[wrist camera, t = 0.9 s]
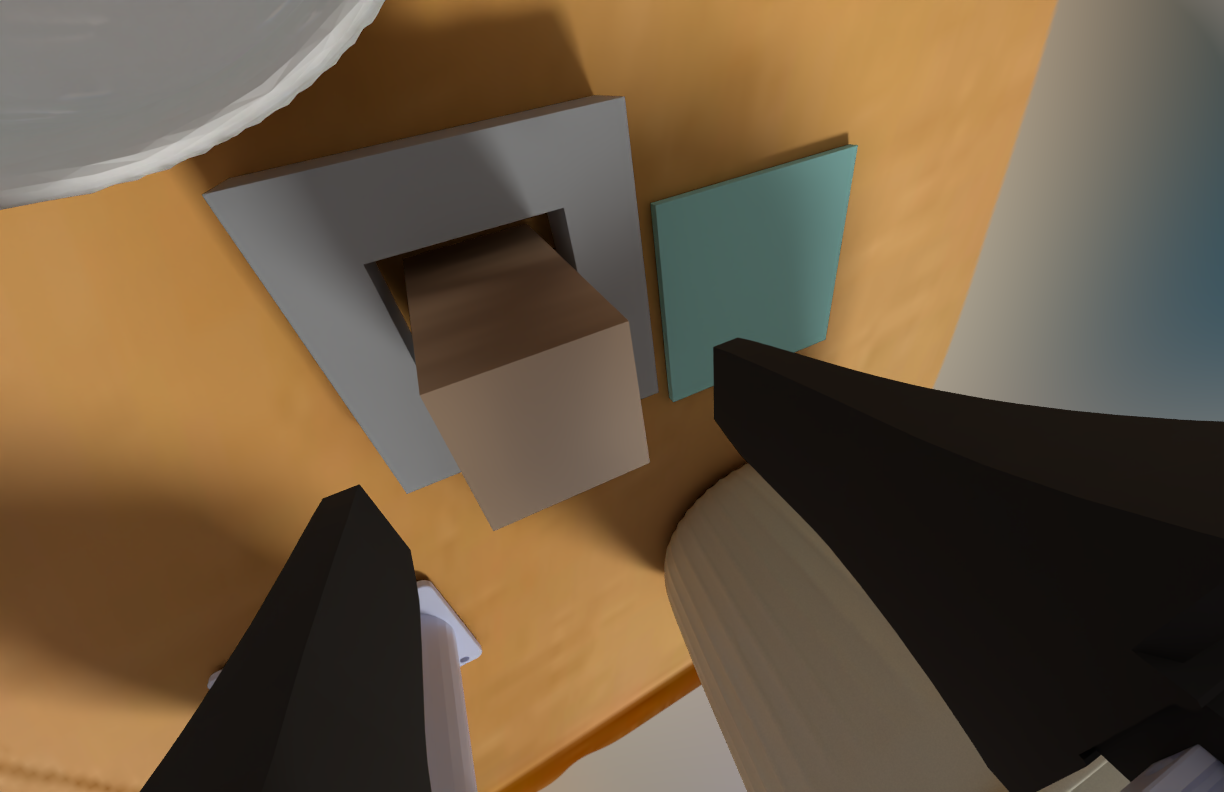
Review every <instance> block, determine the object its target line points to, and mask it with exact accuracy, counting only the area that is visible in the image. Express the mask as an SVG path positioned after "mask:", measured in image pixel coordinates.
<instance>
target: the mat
mask: <svg viewBox="0 0 1224 792" xmlns="http://www.w3.org/2000/svg"><path fill="white" fill-rule="evenodd" d="M857 147H858V145H851V144H849V145H846V146H842V147H839V148H836V149H832V150H829V151H825V152H822V153H819V154H815V155H812V156H809V157H805V158H802V159H798V160H795V161H792V162H788V163H785V164H781V165H778V166H775V167H771V168H768V169H765V170H761V171H758V172H754V173H751V174H748V175H744V176H741V177H737V178H734V179H731V180H727V181H724V182H721V183H717V184H714V185H710V186H707V187H704V188H700V189H697V190H694V191H690V192H687V193H683V194H680V195H677V196H673V197H670V198H666V199H663V200H660V201H656V202H653V203H650V204H651V215H652V225H653V235H654V246H655V256H656V266H657V277H658V287H659V297H660V308H661V318H662V328H663V339H664V349H665V359H666V369H667V380H668V390H669V398H670V399H671V400H672V401H673V402H675V401H678V400H680V399H683V398H685V397H687V396H690V395H692V394H695V393H697V392H699V391H702V390H704V389H707V388H709V387H712V386H714V373H713V347H714V346H717V345H719V344H722V343H725V342H727V341H730V340H732V339H735V338H737V337H738V338H743V339H747V340H751V341H755V342H759V343H763V344H766V345H770V346H773V347H777V348H780V349H783V350H787V351H790V352H793V353H794V352H796V351H799V350H801V349H804V348H806V347H808V346H811V345H813V344H816V343H818V342H821V341H823V340H825V339H826V333H827V327H828V321H829V315H830V309H831V303H832V297H833V291H834V285H835V279H836V273H837V267H838V261H839V255H840V249H841V243H842V237H843V231H844V225H845V219H846V213H847V207H848V201H849V195H850V189H851V183H852V177H853V171H854V165H855V159H856V153H857Z"/></svg>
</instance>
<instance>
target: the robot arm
mask: <svg viewBox="0 0 1224 792" xmlns="http://www.w3.org/2000/svg"><path fill="white" fill-rule="evenodd" d="M713 373H714V420H715V421H716V422H717V424H718V425H719V427H720V428H721V429H722V431H723V432H724V434H725V435H726V436H727V438H728V439H729V440H730V442H731V443H732V444H733V446H734V447H735V448H736V450H737V451H738V452H739V453H740V455H741V456H742V457H743V458H744V459H745V460H746V461H747V462H748V463H749V464H750V465H751V466H752V467H753V468H754V469H755V470H756V471H757V473H758V474H759V475H760V476H761V477H762V478H763V479H764V480H765V481H766V482H767V483H768V484H769V485H770V486H771V487H772V488H773V489H774V490H775V491H776V492H777V493H778V494H779V495H780V496H781V497H782V498H783V499H784V500H785V501H786V502H787V503H788V504H789V505H790V506H791V507H792V508H793V509H794V510H795V511H796V512H797V513H798V514H799V515H800V516H801V517H802V518H803V519H804V521H805V522H806V523H807V524H808V525H809V526H810V527H811V528H812V529H813V530H814V531H815V532H816V533H817V534H818V535H819V536H820V537H821V539H822V540H823V541H824V542H825V543H826V544H827V545H828V546H829V547H830V549H831V550H832V551H833V552H834V554H835V555H836V556H837V557H838V559H839V560H840V561H841V562H842V564H843V565H844V566H845V567H846V569H847V570H848V571H849V572H850V574H851V575H852V576H853V577H854V578H855V580H856V581H857V582H858V583H859V585H860V586H861V587H862V589H863V590H864V591H865V592H866V594H867V595H868V596H869V598H870V599H871V600H872V602H873V603H874V604H875V606H876V607H877V608H878V609H879V611H880V612H881V613H882V615H883V616H884V617H885V619H886V620H887V621H888V623H889V624H890V625H891V627H892V628H893V629H894V630H895V632H896V633H897V635H898V636H899V637H900V639H901V640H902V642H903V643H904V644H905V646H906V647H907V649H908V650H909V651H910V653H911V654H912V656H913V657H914V658H915V660H916V661H917V663H918V664H919V665H920V667H921V668H922V669H923V671H924V672H925V674H926V675H927V676H928V678H929V679H930V681H931V682H932V684H933V685H934V686H935V688H936V689H937V691H938V692H939V694H940V695H941V697H942V698H943V700H944V701H945V703H946V704H947V706H948V707H949V709H950V710H951V712H952V713H953V715H954V716H955V718H956V719H957V721H958V722H959V724H960V725H961V727H962V728H963V730H964V731H965V733H966V734H967V736H968V737H969V739H970V740H971V742H972V743H973V745H974V747H975V748H976V750H977V751H978V753H979V754H980V756H981V758H982V759H983V761H984V762H985V764H986V765H987V767H988V768H989V770H990V771H991V772H992V773H993V774H994V775H995V776H996V777H997V779H998V780H999V781H1000V782H1001V783H1002V784H1003V785H1004V786H1005V788H1006V789H1007V790H1008V791H1009V792H1037V791H1039V790H1041V789H1043V788H1045V787H1047V786H1049V785H1051V784H1053V783H1055V782H1057V781H1059V780H1061V779H1063V778H1065V777H1067V776H1069V775H1071V774H1073V773H1075V772H1077V771H1079V770H1081V769H1083V768H1085V767H1087V766H1088V765H1089V764H1091V763H1092V762H1093V761H1094V760H1095V759H1097V758H1098V757H1099V756H1100V755H1102V756H1103V757H1104V758H1105V759H1106V760H1107V761H1108V762H1110V763H1111V764H1112V765H1113V766H1114V767H1115V768H1116V769H1117V770H1118V771H1119V772H1120V773H1121V774H1122V775H1123V776H1125V777H1126V778H1127V779H1128V780H1129V781H1130V782H1131V783H1129V784H1128V785H1127V786H1126V787H1125V788H1123V789H1122V790H1121V791H1120V792H1224V422H1219V421H1217V422H1216V421H1194V420H1177V419H1164V418H1150V417H1137V416H1123V415H1112V414H1101V413H1091V412H1080V411H1071V410H1063V409H1055V408H1047V407H1039V406H1031V405H1023V404H1015V403H1009V402H1002V401H995V400H989V399H983V398H977V397H972V396H966V395H961V394H956V393H950V392H945V391H940V390H935V389H930V388H925V387H920V386H916V385H911V384H907V383H903V382H899V381H895V380H891V379H887V378H882V377H878V376H874V375H870V374H867V373H863V372H859V371H855V370H852V369H848V368H845V367H841V366H837V365H834V364H831V363H827V362H824V361H820V360H817V359H813V358H810V357H807V356H803V355H800V354H797V353H793V352H790V351H787V350H783V349H780V348H777V347H773V346H770V345H766V344H763V343H759V342H755V341H751V340H747V339H743V338H738V337H737V338H735V339H732V340H730V341H727V342H725V343H722V344H719V345H717V346H714V347H713ZM481 653H482V649H481V645H480V644H479V642H478V641H477V640H476V639H475V637H474V636H473V635H472V633H471V632H470V631H469V630H468V628H467V627H466V626H465V625H464V623H463V622H462V621H461V619H460V618H459V617H458V616H457V614H456V613H455V612H454V611H453V609H452V608H451V607H450V605H449V604H448V603H447V602H446V600H445V599H444V598H443V597H442V595H441V594H440V593H439V591H438V590H437V589H436V588H435V586H434V585H433V584H432V583H431V582H430V581H427V580H420V581H417V582H416V576H415V571H414V566H413V561H412V556H411V550H410V549H409V547H408V546H407V545H406V544H405V542H404V541H403V540H402V538H401V537H400V536H399V535H398V533H397V532H396V531H395V529H394V528H393V527H392V526H391V524H390V523H389V522H388V520H387V519H386V518H385V517H384V515H383V514H382V513H381V511H380V510H379V509H378V508H377V506H376V505H375V504H374V502H373V501H372V500H371V499H370V497H369V496H368V495H367V493H366V492H365V491H364V490H363V488H362V487H361V486H360V484H359V485H357V486H354V487H351V488H349V489H346V490H344V491H341V492H339V493H336V494H333V495H331V496H328V497H326V498H323V499H322V501H321V503H320V504H319V506H318V508H317V509H316V511H315V513H314V514H313V516H312V518H311V520H310V521H309V523H308V525H307V527H306V529H305V530H304V532H303V534H302V536H301V537H300V539H299V541H298V543H297V545H296V546H295V548H294V550H293V552H292V554H291V555H290V557H289V559H288V561H287V563H286V564H285V566H284V568H283V570H282V571H281V573H280V575H279V577H278V578H277V580H276V582H275V583H274V585H273V587H272V589H271V590H270V592H269V594H268V596H267V597H266V599H265V601H264V603H263V604H262V606H261V608H260V609H259V611H258V613H257V615H256V616H255V618H254V620H253V621H252V623H251V625H250V626H249V628H248V630H247V631H246V633H245V634H244V636H243V638H242V639H241V641H240V642H239V644H238V645H237V647H236V649H235V650H234V652H233V653H232V655H231V657H230V658H229V660H228V661H227V663H226V665H225V666H224V668H223V669H221V670H219V671H217V672H215V673H214V674H212V675H211V676H210V678H209V681H208V685H207V687H208V688H209V689H210V690H209V692H208V693H207V695H206V696H205V698H204V699H203V701H202V703H201V704H200V706H199V707H198V709H197V710H196V712H195V713H194V715H193V716H192V718H191V719H190V721H189V722H188V724H187V725H186V727H185V728H184V730H183V731H182V733H181V734H180V735H179V737H178V738H177V740H176V741H175V743H174V744H173V746H172V747H171V748H170V750H169V751H168V753H167V754H166V756H165V757H164V759H163V760H162V761H161V763H160V764H159V766H158V767H157V768H156V770H155V771H154V773H153V774H152V775H151V777H150V778H149V779H148V781H147V782H146V784H145V785H144V786H143V788H142V789H141V791H140V792H477V786H476V779H475V771H474V764H473V757H472V750H471V742H470V735H469V728H468V721H467V714H466V706H465V699H464V692H463V685H462V677H461V670H460V666H462V665H464V664H466V663H468V662H470V661H472V660H474V659H476V658H478V657H479V656H480V655H481Z"/></svg>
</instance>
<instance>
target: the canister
mask: <svg viewBox="0 0 1224 792" xmlns="http://www.w3.org/2000/svg"><path fill="white" fill-rule="evenodd" d="M664 572H665V586H666V591H667V595H668V598H669V601H670V604H671V607H672V610H673V613H674V616H675V618H676V621H677V624H678V626H679V629H680V631H681V634H682V636H683V639H684V641H685V644H686V646H687V649H688V651H689V654H690V656H691V659H692V661H693V664H694V666H695V669H696V671H697V674H698V676H699V679H700V681H701V684H702V686H703V688H704V691H705V693H706V696H707V698H708V700H709V703H710V705H711V708H712V710H713V712H714V715H715V717H716V719H717V722H718V724H719V727H720V729H721V731H722V733H723V736H724V738H725V740H726V743H727V745H728V747H729V750H730V752H731V754H732V757H733V759H734V761H735V764H736V766H737V769H738V771H739V773H740V776H741V778H742V780H743V783H744V785H745V787H746V790H747V792H1009V791H1008V790H1007V789H1006V788H1005V786H1004V785H1003V784H1002V783H1001V782H1000V781H999V780H998V779H997V777H996V776H995V775H994V774H993V773H992V772H991V771H990V770H989V768H988V767H987V765H986V764H985V762H984V761H983V759H982V758H981V756H980V754H979V753H978V751H977V750H976V748H975V747H974V745H973V743H972V742H971V740H970V739H969V737H968V736H967V734H966V733H965V731H964V730H963V728H962V727H961V725H960V724H959V722H958V721H957V719H956V718H955V716H954V715H953V713H952V712H951V710H950V709H949V707H948V706H947V704H946V703H945V701H944V700H943V698H942V697H941V695H940V694H939V692H938V691H937V689H936V688H935V686H934V685H933V684H932V682H931V681H930V679H929V678H928V676H927V675H926V674H925V672H924V671H923V669H922V668H921V667H920V665H919V664H918V663H917V661H916V660H915V658H914V657H913V656H912V654H911V653H910V651H909V650H908V649H907V647H906V646H905V644H904V643H903V642H902V640H901V639H900V637H899V636H898V635H897V633H896V632H895V630H894V629H893V628H892V627H891V625H890V624H889V623H888V621H887V620H886V619H885V617H884V616H883V615H882V613H881V612H880V611H879V609H878V608H877V607H876V606H875V604H874V603H873V602H872V600H871V599H870V598H869V596H868V595H867V594H866V592H865V591H864V590H863V589H862V587H861V586H860V585H859V583H858V582H857V581H856V580H855V578H854V577H853V576H852V575H851V574H850V572H849V571H848V570H847V569H846V567H845V566H844V565H843V564H842V562H841V561H840V560H839V559H838V557H837V556H836V555H835V554H834V552H833V551H832V550H831V549H830V547H829V546H828V545H827V544H826V543H825V542H824V541H823V540H822V539H821V537H820V536H819V535H818V534H817V533H816V532H815V531H814V530H813V529H812V528H811V527H810V526H809V525H808V524H807V523H806V522H805V521H804V519H803V518H802V517H801V516H800V515H799V514H798V513H797V512H796V511H795V510H794V509H793V508H792V507H791V506H790V505H789V504H788V503H787V502H786V501H785V500H784V499H783V498H782V497H781V496H780V495H779V494H778V493H777V492H776V491H775V490H774V489H773V488H772V487H771V486H770V485H769V484H768V483H767V482H766V481H765V480H764V479H763V478H762V477H761V476H760V475H759V474H758V473H757V471H756V470H755V469H754V468H753V467H752V466H751V465H750V464H745V465H744V466H742V467H741V468H740V469H738V470H736V471H732V472H731V473H730V474H729V475H728V476H727V477H725V478H723V479H720V480H719V481H718V482H717V483H716V484H715V485H714V486H713V487H711V488H709V489H707V490H706V492H705V494H704V495H703V496H702V497H700V498H698V499H697V500H696V502H695V504H694V505H693V506H692V507H691V508H690V509H688V510H687V511H686V514H685V517H684V518H683V519H682V520H681V521H679V523H678V526H677V529H676V530H675V531H674V532H673V534H672V536H671V541H670V543H669V544H668V547H667V551H666V557H665V562H664ZM1129 783H1131V782H1130V781H1129V780H1128V779H1127V778H1126V777H1125V776H1123V775H1122V774H1121V773H1120V772H1119V771H1118V770H1117V769H1116V768H1115V767H1114V766H1113V765H1112V764H1111V763H1110V762H1108V761H1107V760H1106V759H1105V758H1104V757H1103V756H1102V755H1100V756H1099V757H1098V758H1097V759H1095V760H1094V761H1093V762H1092V763H1091V764H1089V765H1088V766H1087V767H1085V768H1083V769H1081V770H1079V771H1077V772H1075V773H1073V774H1071V775H1069V776H1067V777H1065V778H1063V779H1061V780H1059V781H1057V782H1055V783H1053V784H1051V785H1049V786H1047V787H1045V788H1043V789H1041V790H1039V791H1037V792H1120V791H1121V790H1122V789H1123V788H1125V787H1126V786H1127V785H1128V784H1129Z"/></svg>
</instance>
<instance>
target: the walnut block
mask: <svg viewBox="0 0 1224 792" xmlns="http://www.w3.org/2000/svg"><path fill="white" fill-rule="evenodd" d="M403 266H404V274H405V282H406V290H407V298H408V306H409V314H410V322H411V330H412V338H413V346H414V354H415V362H416V370H417V378H418V386H419V394H420V397H421V399H422V401H423V402H424V404H425V406H426V408H427V410H428V412H429V413H430V415H431V417H432V419H433V421H434V423H435V425H436V426H437V428H438V430H439V432H440V434H441V436H442V437H443V439H444V441H445V443H446V445H447V447H448V448H449V450H450V452H451V454H452V456H453V458H454V460H455V461H456V463H457V465H458V467H459V469H460V471H461V472H462V474H463V476H464V478H465V480H466V482H467V483H468V485H469V487H470V489H471V491H472V493H473V494H474V496H475V498H476V500H477V502H478V504H479V506H480V507H481V509H482V511H483V513H484V515H485V517H486V518H487V520H488V522H489V524H490V526H491V528H492V529H493V531H495V530H498V529H500V528H502V527H504V526H507V525H509V524H511V523H513V522H516V521H518V520H520V519H523V518H525V517H527V516H529V515H532V514H534V513H536V512H539V511H541V510H543V509H545V508H548V507H550V506H552V505H555V504H557V503H559V502H561V501H564V500H566V499H568V498H570V497H573V496H575V495H577V494H580V493H582V492H584V491H586V490H589V489H591V488H593V487H596V486H598V485H600V484H602V483H605V482H607V481H609V480H611V479H614V478H616V477H618V476H621V475H623V474H625V473H627V472H630V471H632V470H634V469H637V468H639V467H641V466H643V465H646V464H648V463H650V460H649V453H648V447H647V440H646V433H645V427H644V420H643V413H642V406H641V400H640V393H639V386H638V379H637V373H636V366H635V359H634V353H633V346H632V339H631V332H630V326H629V321H628V320H627V319H626V318H625V317H624V316H623V315H622V314H621V313H620V312H619V311H618V310H617V309H616V308H615V307H614V306H613V305H611V304H610V303H609V302H608V301H607V300H606V299H605V298H604V297H603V296H602V295H601V294H600V293H599V292H598V291H597V290H596V289H595V288H594V287H593V286H592V285H591V284H589V283H588V282H587V281H586V280H585V279H584V278H583V277H582V276H581V275H580V274H579V273H578V272H577V271H576V270H575V269H574V268H573V267H572V266H571V265H570V264H568V263H567V262H566V261H565V260H564V259H563V258H562V257H561V256H560V255H559V254H558V253H557V252H556V251H555V250H554V249H553V248H552V247H551V246H550V245H549V244H548V243H546V242H545V241H544V240H543V239H542V238H541V237H540V236H539V235H538V234H537V233H536V232H535V231H534V230H533V229H532V228H531V227H530V226H529V225H528V224H527V223H525V224H522V225H518V226H515V227H511V228H508V229H504V230H501V231H497V232H494V233H490V234H487V235H483V236H480V237H476V238H473V239H469V240H466V241H462V242H459V243H455V244H452V245H448V246H445V247H441V248H438V249H434V250H431V251H427V252H424V253H420V254H417V255H413V256H410V257H406V258H403Z"/></svg>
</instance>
